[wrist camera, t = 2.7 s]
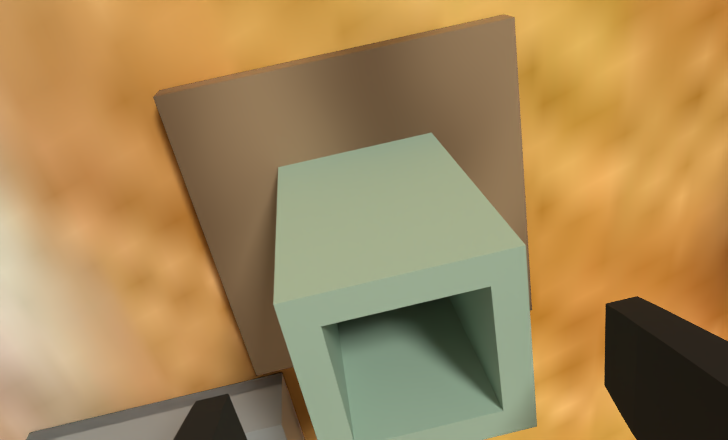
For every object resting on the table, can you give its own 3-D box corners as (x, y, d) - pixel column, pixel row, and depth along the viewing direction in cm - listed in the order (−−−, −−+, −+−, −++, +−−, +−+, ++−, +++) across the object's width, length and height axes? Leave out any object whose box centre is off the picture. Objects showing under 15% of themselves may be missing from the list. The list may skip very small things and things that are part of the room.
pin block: (257, 360, 20) (250, 458, 16) (159, 90, 15) (117, 135, 11) (523, 297, 20) (579, 377, 16) (503, 14, 16) (575, 33, 12)
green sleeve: (314, 295, 18) (329, 477, 12) (278, 167, 16) (272, 304, 10) (449, 263, 18) (536, 426, 12) (431, 132, 16) (525, 245, 10)
